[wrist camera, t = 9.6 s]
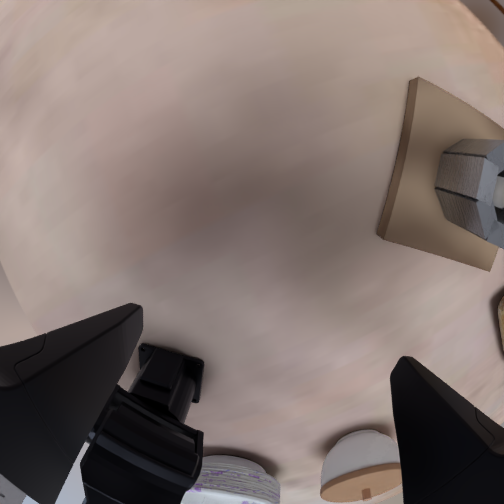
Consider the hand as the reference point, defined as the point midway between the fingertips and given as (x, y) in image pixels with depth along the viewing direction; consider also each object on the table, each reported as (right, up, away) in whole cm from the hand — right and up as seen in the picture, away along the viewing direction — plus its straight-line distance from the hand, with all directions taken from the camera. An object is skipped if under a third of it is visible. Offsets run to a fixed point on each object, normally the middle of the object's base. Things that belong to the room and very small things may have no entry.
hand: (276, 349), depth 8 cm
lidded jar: (+13, -21, +20) cm, 32 cm away
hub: (+15, +8, +7) cm, 18 cm away
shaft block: (+15, +9, +8) cm, 19 cm away
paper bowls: (-4, -29, +24) cm, 38 cm away
